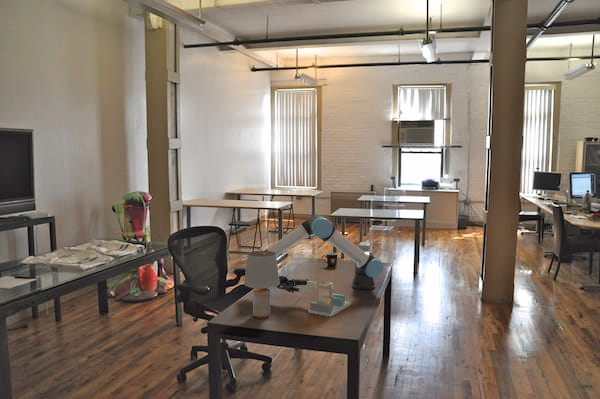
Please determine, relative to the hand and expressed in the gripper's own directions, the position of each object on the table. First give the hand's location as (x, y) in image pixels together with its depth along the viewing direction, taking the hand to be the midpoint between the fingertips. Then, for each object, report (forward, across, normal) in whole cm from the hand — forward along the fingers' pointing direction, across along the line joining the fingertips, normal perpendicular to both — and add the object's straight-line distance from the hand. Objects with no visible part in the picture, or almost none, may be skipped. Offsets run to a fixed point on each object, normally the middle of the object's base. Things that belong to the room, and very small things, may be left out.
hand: (310, 287), depth 272 cm
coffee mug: (-38, -94, -12) cm, 102 cm away
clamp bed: (+10, -5, -12) cm, 16 cm away
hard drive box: (-11, -98, -12) cm, 99 cm away
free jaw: (+10, -11, -10) cm, 18 cm away
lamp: (-15, +26, -12) cm, 32 cm away
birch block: (+10, 0, -10) cm, 14 cm away
